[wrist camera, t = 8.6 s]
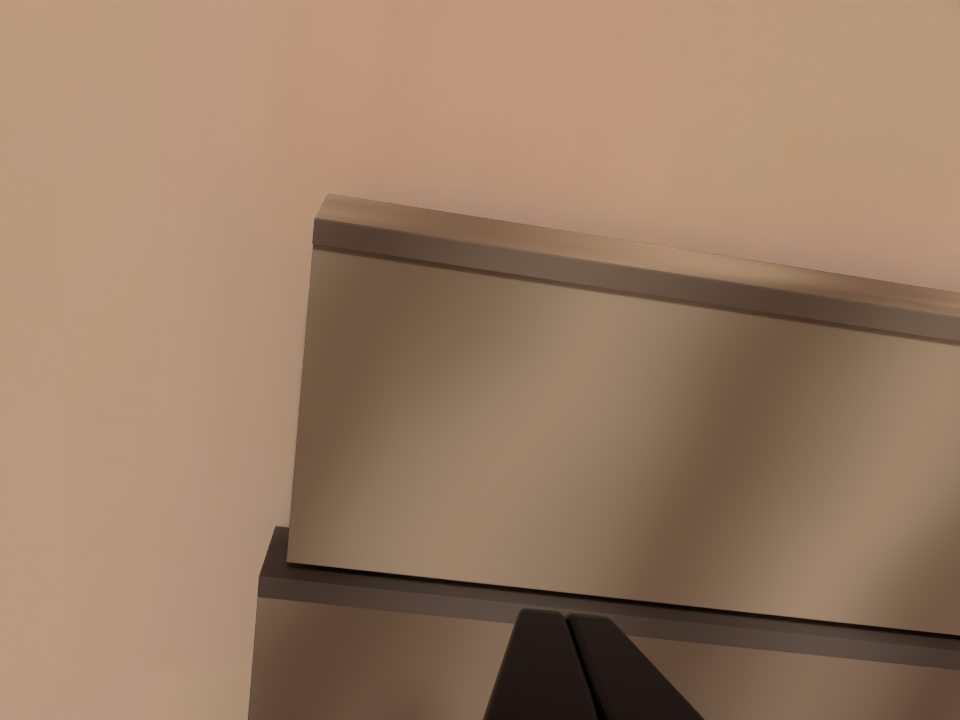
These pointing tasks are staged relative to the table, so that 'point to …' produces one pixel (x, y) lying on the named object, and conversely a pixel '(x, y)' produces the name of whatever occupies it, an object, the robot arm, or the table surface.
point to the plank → (626, 421)
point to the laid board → (494, 608)
